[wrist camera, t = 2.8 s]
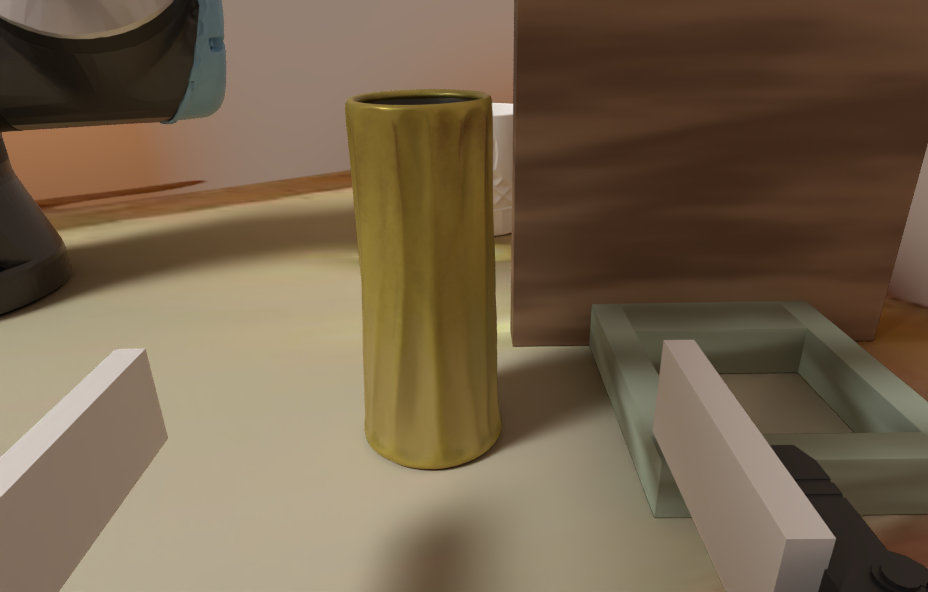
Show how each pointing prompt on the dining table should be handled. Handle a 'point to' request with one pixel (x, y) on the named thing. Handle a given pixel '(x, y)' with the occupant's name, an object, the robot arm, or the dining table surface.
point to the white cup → (502, 167)
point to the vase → (426, 272)
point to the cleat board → (725, 208)
